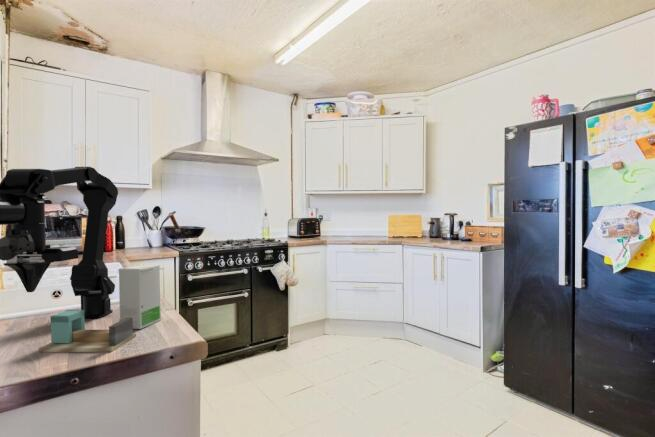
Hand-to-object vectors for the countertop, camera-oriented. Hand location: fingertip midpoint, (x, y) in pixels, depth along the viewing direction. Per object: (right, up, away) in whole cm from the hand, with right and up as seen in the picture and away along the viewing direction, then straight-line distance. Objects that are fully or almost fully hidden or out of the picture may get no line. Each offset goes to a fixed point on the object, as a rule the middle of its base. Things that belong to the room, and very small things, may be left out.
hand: (30, 291), depth 78 cm
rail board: (+14, -12, 0) cm, 18 cm away
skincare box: (+18, -12, +13) cm, 25 cm away
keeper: (+9, -11, 0) cm, 14 cm away
